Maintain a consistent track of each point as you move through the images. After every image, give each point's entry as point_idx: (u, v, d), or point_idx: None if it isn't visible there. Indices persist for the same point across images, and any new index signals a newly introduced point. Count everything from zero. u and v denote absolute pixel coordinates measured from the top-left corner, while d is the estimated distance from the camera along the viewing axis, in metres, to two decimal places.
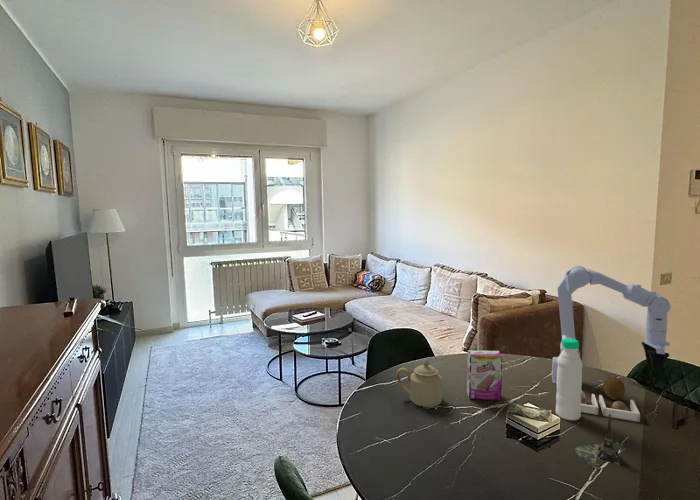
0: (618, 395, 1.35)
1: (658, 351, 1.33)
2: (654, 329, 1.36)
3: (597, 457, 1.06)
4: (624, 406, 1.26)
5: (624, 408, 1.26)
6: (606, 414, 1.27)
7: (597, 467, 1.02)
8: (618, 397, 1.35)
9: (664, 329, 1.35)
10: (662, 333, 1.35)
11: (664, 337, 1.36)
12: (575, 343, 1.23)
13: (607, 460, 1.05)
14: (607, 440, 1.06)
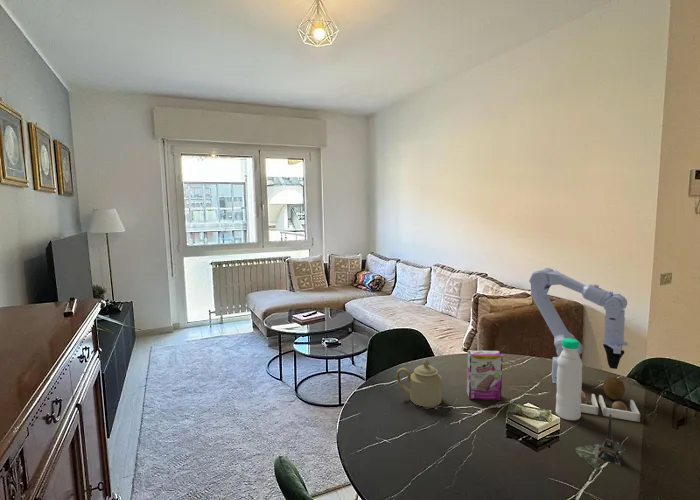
0: (618, 395, 1.35)
1: (614, 351, 1.34)
2: (608, 328, 1.38)
3: (598, 457, 1.06)
4: (624, 406, 1.26)
5: (624, 408, 1.26)
6: (606, 414, 1.27)
7: (598, 467, 1.02)
8: (618, 397, 1.35)
9: (618, 329, 1.36)
10: (619, 333, 1.37)
11: (621, 337, 1.37)
12: (575, 343, 1.23)
13: (608, 460, 1.05)
14: (608, 440, 1.06)
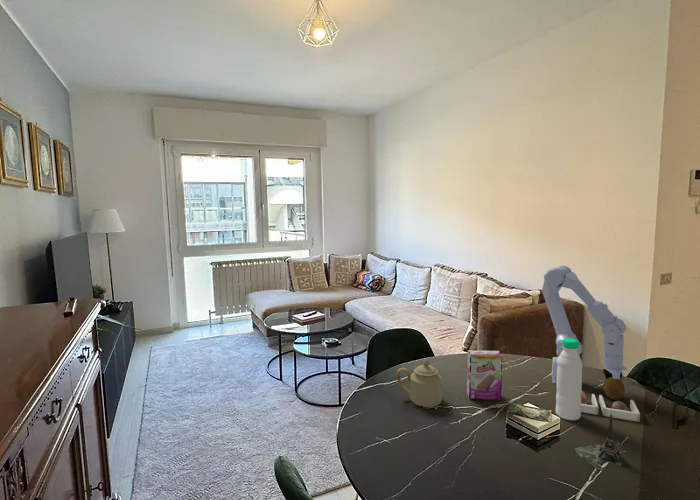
0: (618, 395, 1.35)
1: (613, 376, 1.35)
2: (607, 353, 1.39)
3: (598, 457, 1.06)
4: (624, 406, 1.26)
5: (624, 408, 1.26)
6: (606, 414, 1.27)
7: (598, 468, 1.02)
8: (618, 397, 1.35)
9: (617, 354, 1.37)
10: (618, 358, 1.38)
11: (620, 362, 1.38)
12: (575, 343, 1.23)
13: (609, 461, 1.05)
14: (608, 440, 1.06)
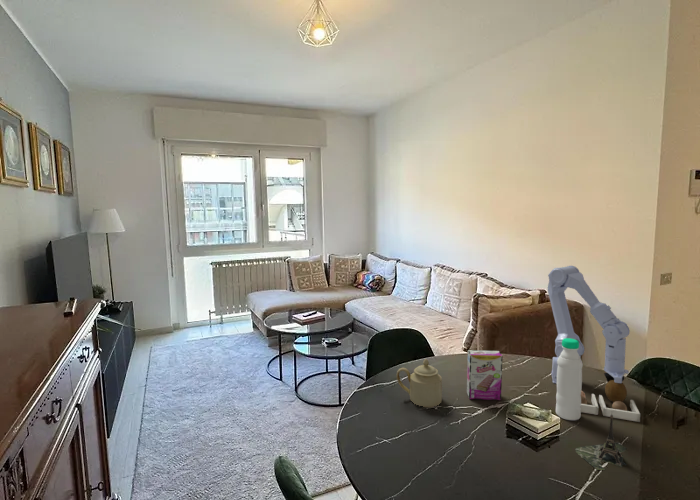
0: (620, 398, 1.32)
1: (615, 380, 1.31)
2: (607, 356, 1.37)
3: (599, 458, 1.06)
4: (624, 406, 1.26)
5: (624, 408, 1.26)
6: (606, 414, 1.27)
7: (599, 468, 1.02)
8: None
9: (617, 357, 1.34)
10: (620, 361, 1.34)
11: (622, 365, 1.35)
12: (575, 343, 1.23)
13: (609, 461, 1.05)
14: (609, 441, 1.05)
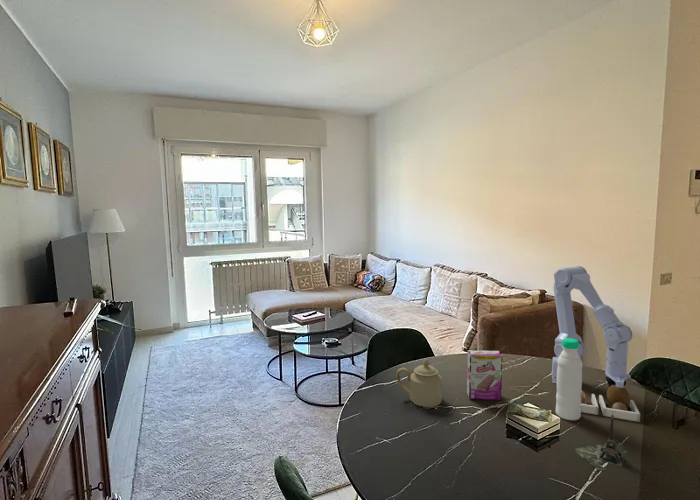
0: None
1: (617, 385, 1.28)
2: (608, 359, 1.34)
3: (600, 458, 1.06)
4: (624, 408, 1.26)
5: (624, 410, 1.26)
6: (606, 414, 1.27)
7: (600, 468, 1.02)
8: None
9: (618, 361, 1.31)
10: (622, 365, 1.31)
11: (624, 369, 1.32)
12: (575, 343, 1.23)
13: (610, 461, 1.04)
14: (610, 441, 1.05)
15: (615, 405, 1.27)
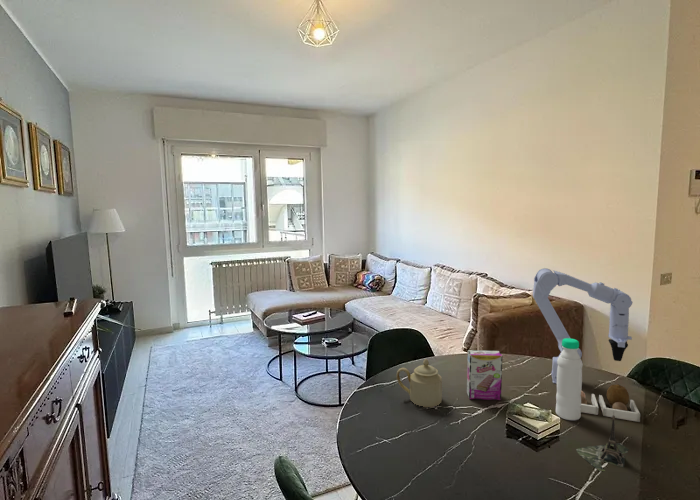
0: None
1: (619, 344, 1.39)
2: (618, 324, 1.43)
3: (601, 459, 1.05)
4: (624, 408, 1.26)
5: (624, 410, 1.26)
6: (606, 414, 1.27)
7: (601, 469, 1.02)
8: None
9: (627, 323, 1.42)
10: (624, 327, 1.42)
11: (626, 331, 1.43)
12: (575, 343, 1.23)
13: (611, 462, 1.04)
14: (611, 441, 1.05)
15: (615, 405, 1.27)
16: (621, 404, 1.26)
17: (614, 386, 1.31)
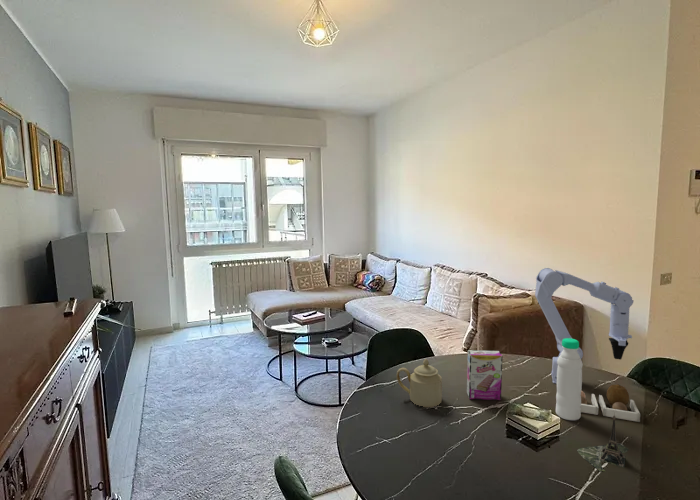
0: None
1: (620, 343, 1.41)
2: (619, 323, 1.44)
3: (601, 459, 1.05)
4: (624, 408, 1.26)
5: (624, 410, 1.26)
6: (606, 414, 1.27)
7: (601, 469, 1.02)
8: None
9: (627, 322, 1.44)
10: (624, 326, 1.44)
11: (626, 330, 1.44)
12: (575, 343, 1.23)
13: (612, 462, 1.04)
14: (611, 442, 1.05)
15: (615, 405, 1.27)
16: (621, 404, 1.26)
17: (614, 386, 1.31)
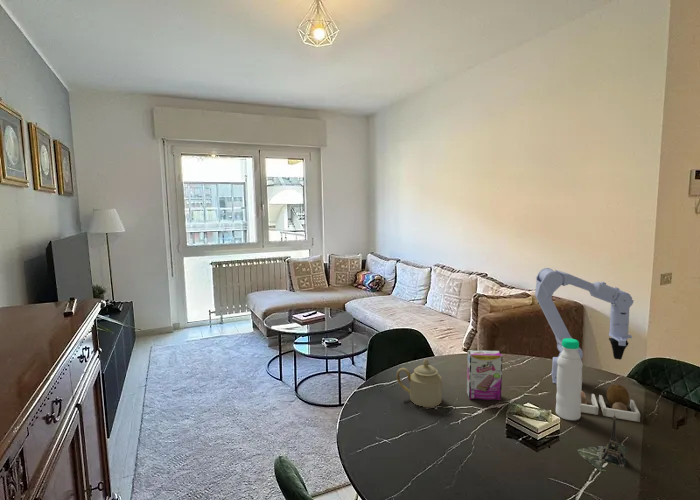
0: None
1: (620, 343, 1.41)
2: (619, 323, 1.44)
3: (602, 459, 1.05)
4: (624, 408, 1.26)
5: (624, 410, 1.26)
6: (606, 414, 1.27)
7: (602, 469, 1.01)
8: None
9: (627, 322, 1.44)
10: (624, 326, 1.44)
11: (626, 330, 1.44)
12: (575, 343, 1.23)
13: (612, 462, 1.04)
14: (612, 442, 1.05)
15: (615, 405, 1.27)
16: (621, 404, 1.26)
17: (614, 386, 1.31)
